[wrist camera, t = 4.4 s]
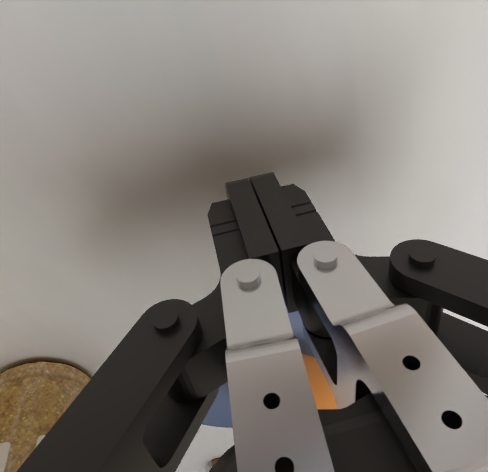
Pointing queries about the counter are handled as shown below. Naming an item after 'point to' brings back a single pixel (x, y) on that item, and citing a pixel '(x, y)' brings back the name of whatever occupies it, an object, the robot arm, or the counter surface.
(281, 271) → the robot arm
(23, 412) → the sprinkles bottle
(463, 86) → the counter surface
